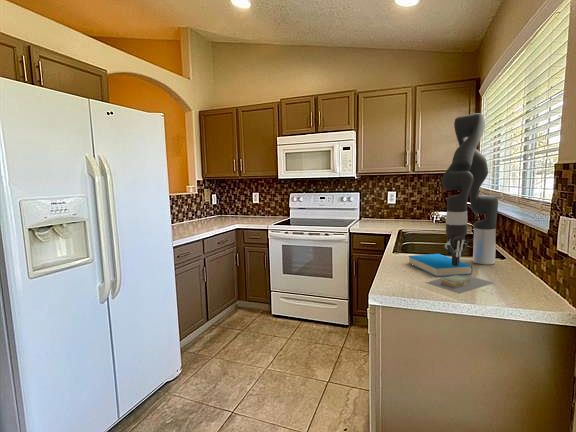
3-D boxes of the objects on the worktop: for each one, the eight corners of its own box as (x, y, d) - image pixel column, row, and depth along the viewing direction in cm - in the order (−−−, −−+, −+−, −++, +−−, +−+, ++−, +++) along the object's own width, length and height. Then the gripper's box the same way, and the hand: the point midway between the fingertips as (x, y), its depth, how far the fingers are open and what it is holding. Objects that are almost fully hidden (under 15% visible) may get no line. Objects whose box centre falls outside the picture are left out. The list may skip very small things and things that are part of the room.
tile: (455, 274, 136) (441, 278, 132) (469, 278, 131) (455, 282, 126) (455, 279, 136) (441, 283, 132) (469, 283, 131) (454, 288, 127)
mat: (459, 274, 144) (459, 273, 144) (494, 284, 131) (494, 282, 131) (425, 284, 134) (425, 282, 134) (459, 295, 121) (459, 293, 121)
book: (436, 268, 140) (407, 255, 165) (436, 277, 141) (408, 263, 165) (473, 265, 142) (439, 252, 167) (473, 274, 143) (439, 261, 167)
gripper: (458, 219, 134) (457, 260, 137) (436, 223, 128) (436, 266, 131) (476, 221, 128) (474, 265, 130) (454, 225, 122) (453, 270, 124)
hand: (455, 265), depth 130 cm, fingers closed
